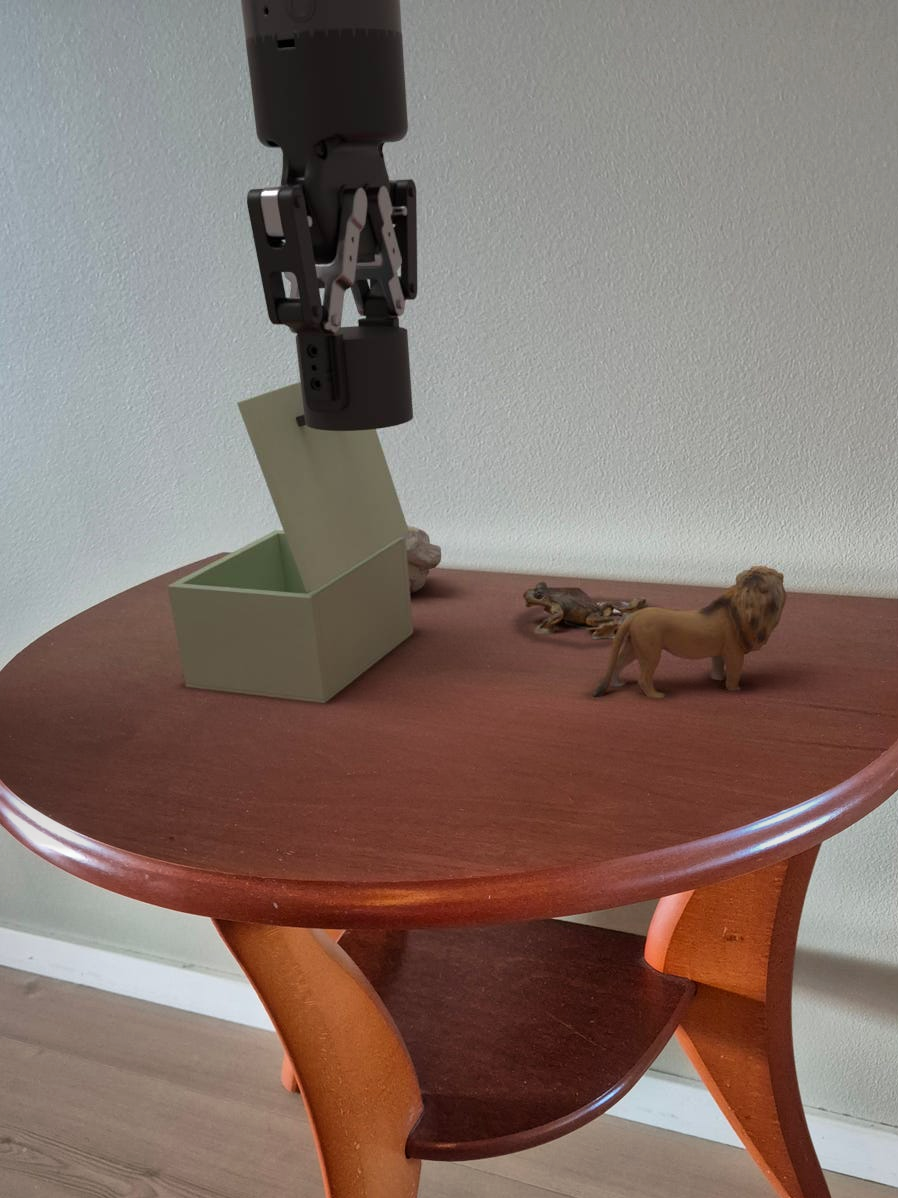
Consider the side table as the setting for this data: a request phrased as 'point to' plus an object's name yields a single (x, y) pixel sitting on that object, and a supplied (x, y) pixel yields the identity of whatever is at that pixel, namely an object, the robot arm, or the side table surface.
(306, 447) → the lid
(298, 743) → the side table surface
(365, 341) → the dark solid cylinder
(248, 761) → the side table surface
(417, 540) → the fossil replica
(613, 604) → the frog figurine
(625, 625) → the lion figurine
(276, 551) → the chest
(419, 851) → the side table surface
